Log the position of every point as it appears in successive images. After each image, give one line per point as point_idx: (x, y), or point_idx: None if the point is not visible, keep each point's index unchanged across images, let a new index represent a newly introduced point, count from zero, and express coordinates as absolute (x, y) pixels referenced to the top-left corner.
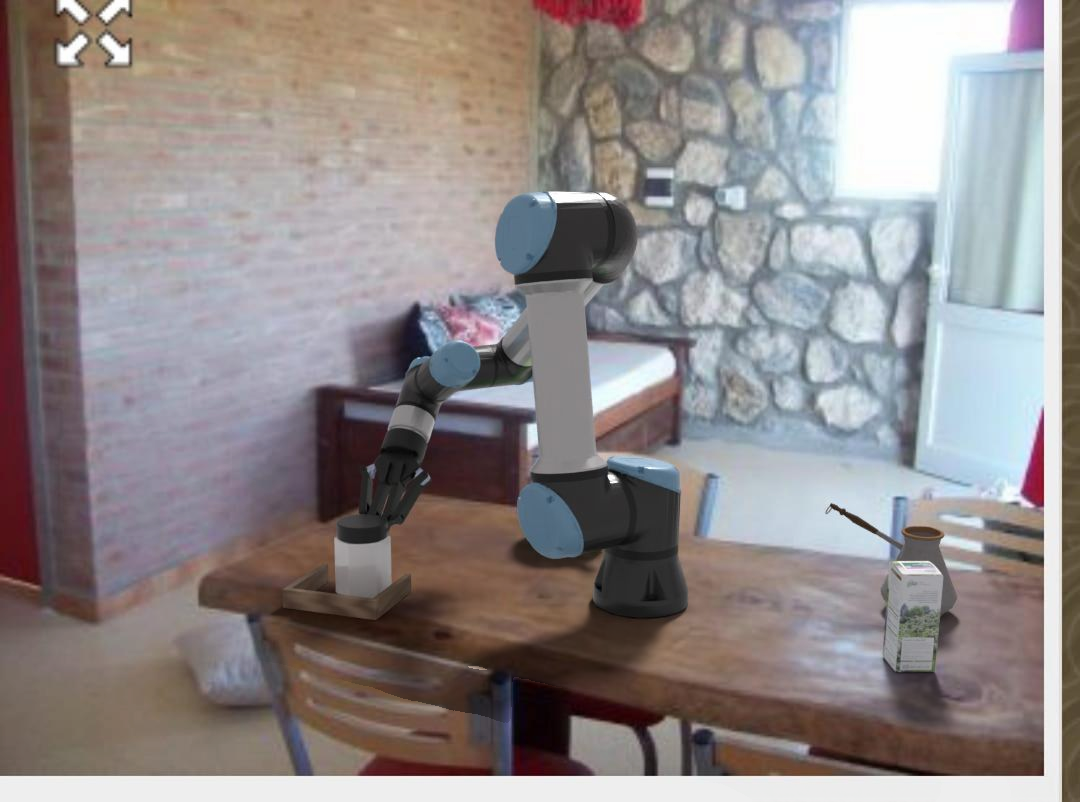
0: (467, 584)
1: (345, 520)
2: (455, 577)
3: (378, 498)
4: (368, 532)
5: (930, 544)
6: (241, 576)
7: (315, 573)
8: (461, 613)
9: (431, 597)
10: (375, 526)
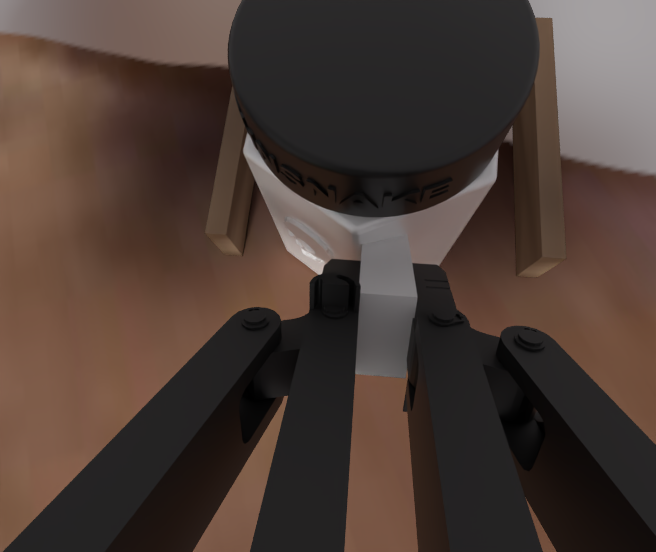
0: (63, 365)
1: (484, 14)
2: (112, 425)
3: (447, 429)
4: None
5: None
6: None
7: (537, 169)
8: (55, 143)
9: (155, 229)
10: None
